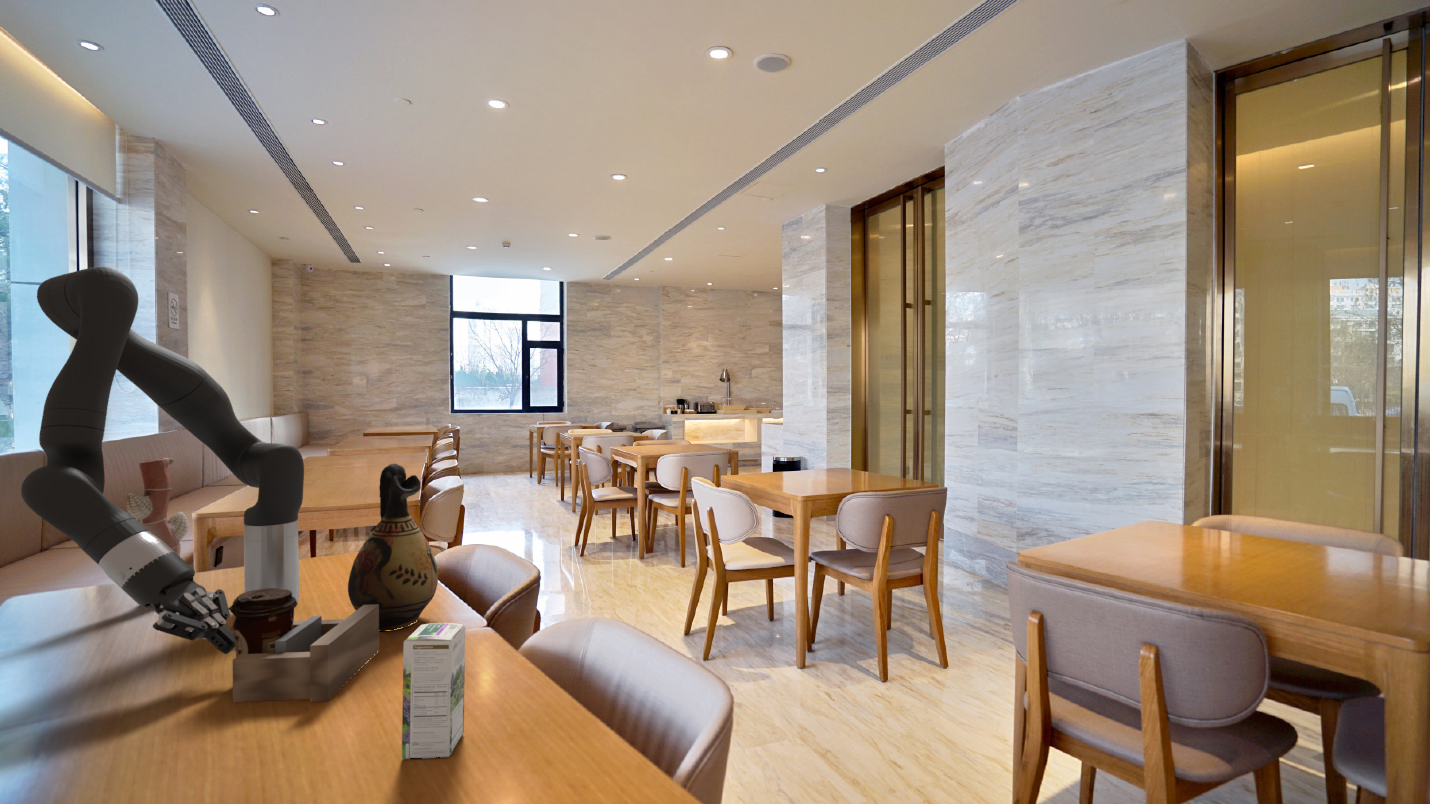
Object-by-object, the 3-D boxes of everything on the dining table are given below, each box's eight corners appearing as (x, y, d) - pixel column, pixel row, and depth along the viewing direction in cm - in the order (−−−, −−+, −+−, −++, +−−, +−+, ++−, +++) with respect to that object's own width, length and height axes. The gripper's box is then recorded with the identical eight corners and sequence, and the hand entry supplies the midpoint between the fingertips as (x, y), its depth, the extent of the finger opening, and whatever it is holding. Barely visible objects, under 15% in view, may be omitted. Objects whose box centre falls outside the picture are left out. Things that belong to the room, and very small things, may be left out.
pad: (275, 688, 96) (275, 641, 96) (312, 659, 107) (312, 616, 107) (285, 688, 96) (285, 640, 96) (321, 658, 107) (321, 615, 107)
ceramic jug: (452, 622, 126) (452, 465, 125) (366, 644, 115) (365, 472, 114) (415, 602, 138) (414, 459, 137) (333, 621, 126) (332, 464, 126)
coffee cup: (223, 694, 95) (224, 605, 95) (231, 673, 102) (232, 589, 102) (295, 682, 99) (295, 596, 99) (298, 662, 107) (298, 582, 107)
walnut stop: (228, 705, 92) (228, 648, 92) (296, 654, 110) (295, 606, 110) (328, 701, 94) (327, 644, 93) (378, 651, 111) (378, 604, 111)
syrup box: (418, 735, 84) (418, 622, 84) (466, 734, 85) (465, 621, 85) (401, 760, 79) (400, 639, 78) (452, 758, 79) (451, 638, 79)
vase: (185, 593, 143) (184, 455, 142) (196, 600, 138) (194, 457, 138) (121, 606, 134) (119, 459, 134) (130, 613, 130) (128, 461, 130)
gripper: (132, 562, 93) (225, 647, 94) (197, 541, 106) (277, 616, 107) (91, 600, 92) (184, 685, 93) (161, 575, 105) (242, 649, 107)
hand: (234, 648), depth 100 cm, fingers closed
